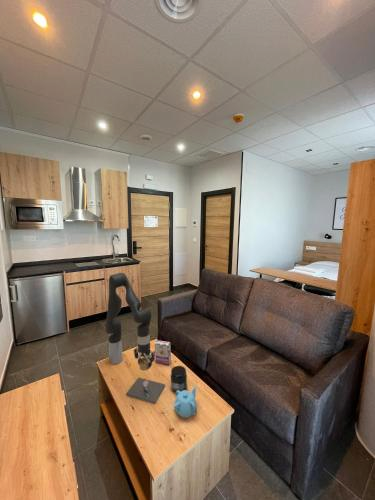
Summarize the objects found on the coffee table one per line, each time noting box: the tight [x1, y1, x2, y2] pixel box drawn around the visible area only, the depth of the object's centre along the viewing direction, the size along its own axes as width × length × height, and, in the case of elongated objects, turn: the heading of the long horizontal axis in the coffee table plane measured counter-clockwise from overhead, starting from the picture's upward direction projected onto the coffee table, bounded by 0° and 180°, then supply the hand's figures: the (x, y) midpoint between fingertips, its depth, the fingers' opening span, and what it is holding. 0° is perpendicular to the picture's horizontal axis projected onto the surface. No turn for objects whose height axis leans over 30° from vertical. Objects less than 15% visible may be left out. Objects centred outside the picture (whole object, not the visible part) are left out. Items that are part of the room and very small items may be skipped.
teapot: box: [173, 384, 198, 420], centre depth 119 cm, size 13×14×11 cm
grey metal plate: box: [125, 377, 166, 405], centre depth 133 cm, size 20×14×6 cm
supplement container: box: [170, 365, 188, 393], centre depth 135 cm, size 10×10×12 cm
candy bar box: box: [154, 339, 172, 366], centre depth 159 cm, size 11×5×16 cm, turn 73°
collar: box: [139, 357, 150, 371], centre depth 131 cm, size 6×6×4 cm
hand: (145, 365), depth 131 cm, fingers closed on collar, 6 cm apart
